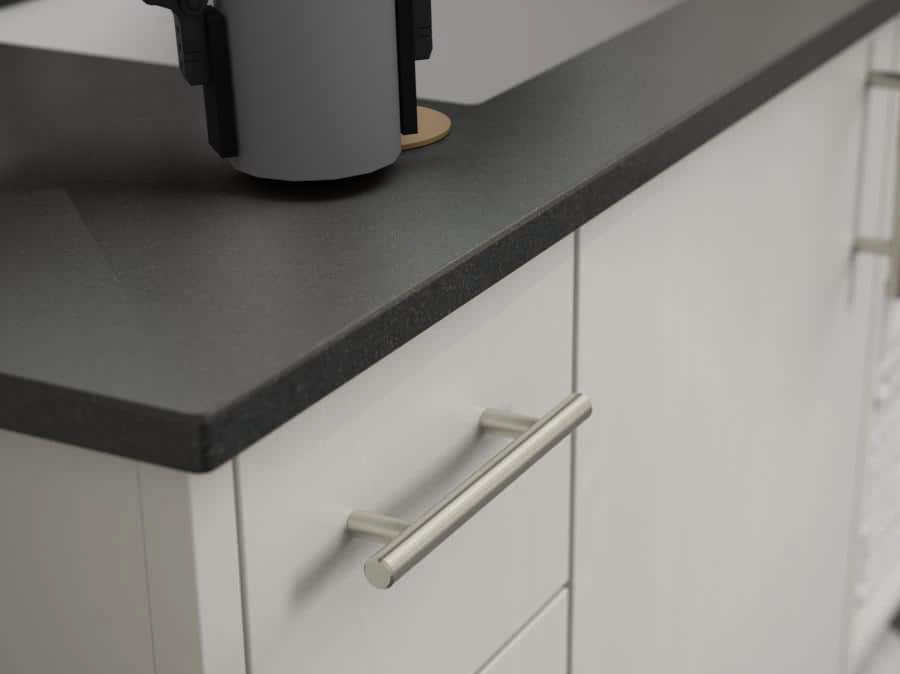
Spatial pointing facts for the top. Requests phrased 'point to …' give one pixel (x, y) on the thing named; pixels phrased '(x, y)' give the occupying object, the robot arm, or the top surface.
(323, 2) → the cup
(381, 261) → the top surface
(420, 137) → the cork coaster
